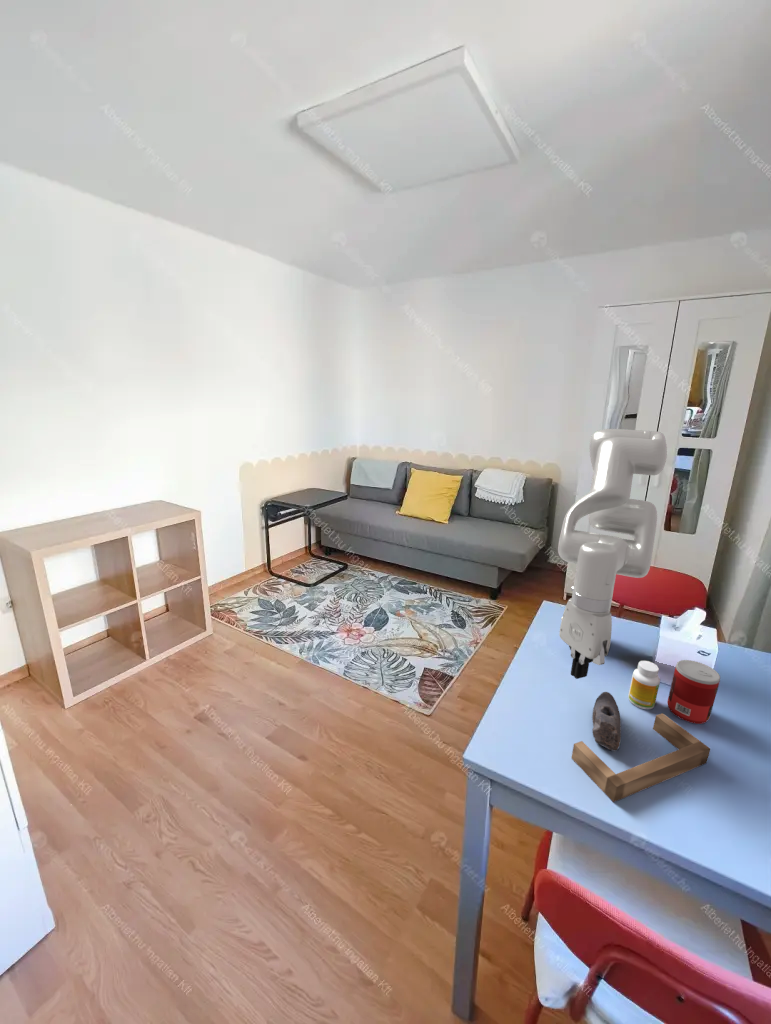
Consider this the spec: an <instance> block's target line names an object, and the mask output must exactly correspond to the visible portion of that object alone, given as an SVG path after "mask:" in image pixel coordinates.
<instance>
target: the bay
mask: <svg viewBox="0 0 771 1024" xmlns="http://www.w3.org/2000/svg"><path fill="white" fill-rule="evenodd" d="M652 730H653V731H655V732H656V733H657V734H659V736H661V737H662V738H664V740H666V741H667V742H668V743H670V744H671V745H672V746H674V747H675V749H676V750H674V751H671V752H669V753H666V754H664V755H660V756H659V757H656V758H654V759H652V760H649V761H646V762H643V763H641V764H638V765H635V766H633V767H630V768H628V769H625V770H624V771H623V770H622V771H619V772H617V773H616V772H614V771H613V770H612V769H611V767H609V766H608V765H607V764H606V763H605V762H604V761H603V760H602V759H601V758H600V757H599V756H598V755H597V754H596V753H594V751H593V750H592V749H590V747H589V746H587V744H586V743H584V741H583V740H581V741H577V742H575V743H573V747H572V751H571V752H572V753H571V760H572V761H574V763H575V764H576V765H577V766H578V767H579V768H580V769H581V770H582V771H583V772H584V773H585V774H586V776H587V777H589V779H591V781H592V782H593V783H594V784H595V785H596V786H597V787H598V788H599V789H600V790H601V791H602V792H603V793H604V794H605V795H606V797H608V798H609V799H610V801H612V803H615V802H617V801H621V800H623V799H625V798H628V797H630V796H633V795H635V794H637V793H640V792H642V791H644V790H647V789H648V788H652V787H653V786H655V785H658V784H662V783H663V782H666V781H667V780H670V779H672V778H675V777H677V776H679V775H683V774H684V773H687V772H690V771H691V770H694V769H696V768H698V767H699V768H700V767H701V766H703V765H706V764H707V763H708V760H709V756H710V753H711V748H710V746H708V745H706V744H705V743H704V742H702V741H701V740H699V739H698V738H697V737H696V736H695V735H693V734H692V733H690V732H689V731H687V729H685V728H683V727H682V726H681V725H679V724H678V723H677V722H676V721H674V720H672V718H669V717H668V716H667V715H666V714H664V713H663V712H662V713H659V714H655V718H654V722H653V727H652Z"/></svg>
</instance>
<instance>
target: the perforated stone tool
mask: <svg viewBox="0 0 771 1024" xmlns="http://www.w3.org/2000/svg"><path fill="white" fill-rule="evenodd" d="M620 713H621V712H620V710H619V707H618V705H617V700H616V699H615V697H614V696H613V695H612V693H610V692H608V691H603V692H601V693H600V695H598V696H597V698H596V699H595V702H594V705H593V709H592V717H591V718H592V719H591V720H592V726H593V727H592V736H593V738H594V741H595V743H596V744H598V745H599V746H602V747H604V748H606V749H607V750H609V751H613V752H615V751H617V750H618V749H619V748H620V744H621V742H622V740H621V739H622V721H621V719H622V718H621V714H620Z"/></svg>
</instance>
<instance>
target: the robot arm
mask: <svg viewBox="0 0 771 1024" xmlns="http://www.w3.org/2000/svg"><path fill="white" fill-rule="evenodd" d="M667 456H668V446H667V440H666V437H665V435H664V433H662V432H660V431H655V430H642V429H641V430H637V429H626V428H625V429H623V428H604V429H599V430H597V431H595V432H593V433H592V434H591V436H590V439H589V458H590V463H591V467H592V470H593V474H592V477H591V478H592V479H591V483H590V489H589V492H588V493H586V494H585V495H582V497H580V498H579V499H578V500H575V502H574V503H573V504H572V505H571V507H570V508H568V510H567V512H566V514H565V515H564V518H563V521H562V525H561V531H560V535H559V538H558V545H557V546H558V547H557V552H558V556H559V558H560V559H561V560H563V561H564V562H567V563H571V564H575V565H576V570H575V575H574V582H573V583H574V584H573V585H572V586H571V588H570V590H571V592H572V594H571V598H569V599H568V600H567V603H566V605H565V608H564V611H563V614H562V617H561V618H560V619H561V621H560V627H559V631H558V632H559V634H558V635H559V638H560V640H562V641H563V642H564V643H566V645H568V648H569V650H570V657H571V659H572V663H571V669H570V675H571V676H573V678H575V680H578V679H582V678H586V677H588V673H589V672H588V671H589V667H590V663H592V664H595V665H598V666H601V665H602V666H603V665H605V660H606V659H605V657H607V656H608V654H609V652H610V651H609V650H610V647H611V640H612V626H613V624H612V623H613V621H612V619H613V618H612V612H611V606H612V601H613V594H614V588H615V584H616V577H617V575H618V576H619V575H620V576H625V577H629V578H637V579H641V578H644V577H646V576H647V575H648V574H649V571H650V568H651V564H652V559H653V552H654V551H653V550H654V543H655V536H656V532H657V531H656V530H657V523H658V522H657V521H658V511H657V507H656V506H655V505H654V503H653V502H650V501H647V500H642V499H635V498H630V497H631V491H632V485H633V478H634V474H635V475H645V476H657V475H660V474H661V473H662V472H663V470H664V467H665V466H666V462H667ZM585 516H588V522H589V525H590V526H591V527H592V528H594V529H595V530H599V531H603V532H608V533H609V532H610V533H616V534H622V535H629V536H631V537H632V538H633V539H634V540H633V539H626V538H621V537H618V536H614V535H610V534H609V535H608V534H601V533H597V532H589V531H583V530H578V529H576V528H575V527H576V525H577V523H578V522H579V520H581V519H583V518H584V517H585ZM575 529H576V530H575Z"/></svg>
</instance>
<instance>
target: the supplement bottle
mask: <svg viewBox="0 0 771 1024" xmlns="http://www.w3.org/2000/svg"><path fill="white" fill-rule="evenodd" d="M659 671H660V668H659V667H658V665H657V664H656V663H653V662H652V661H649V660H640V661H639V662H638V664H637V668H635V669H634V671H633V672H632V676H631V680H630V685H629V689H628V696H627V698H628V700H629V702H630V703H631V704H633V705H634V706H635V707H637V708H639V709H642V710H652V709H653V708H655V705H656V702H657V696H658V692H659V689H660V684H661V678H660V676H659V673H660V672H659Z"/></svg>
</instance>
